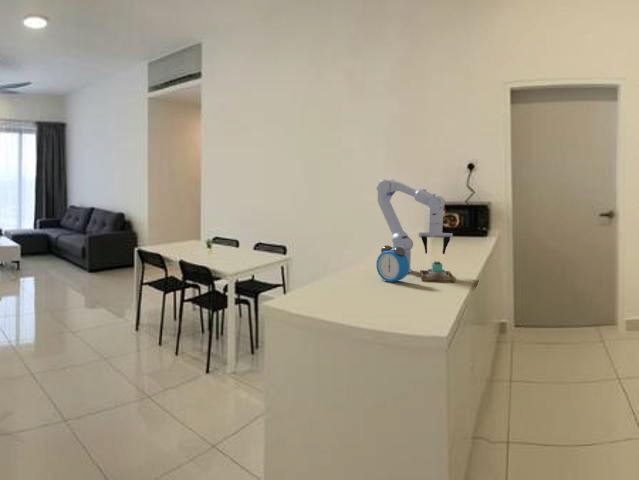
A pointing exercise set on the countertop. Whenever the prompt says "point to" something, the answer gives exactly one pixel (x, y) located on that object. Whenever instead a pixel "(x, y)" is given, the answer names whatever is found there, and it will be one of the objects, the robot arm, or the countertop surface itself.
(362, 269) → the countertop surface
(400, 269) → the alarm clock
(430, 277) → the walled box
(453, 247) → the countertop surface
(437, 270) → the connector
